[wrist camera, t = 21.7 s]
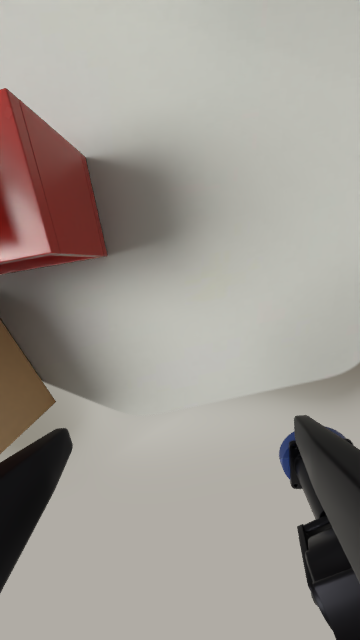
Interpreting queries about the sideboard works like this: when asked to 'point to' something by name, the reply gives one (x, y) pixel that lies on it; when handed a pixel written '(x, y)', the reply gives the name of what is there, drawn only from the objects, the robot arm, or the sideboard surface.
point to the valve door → (18, 391)
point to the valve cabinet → (42, 195)
